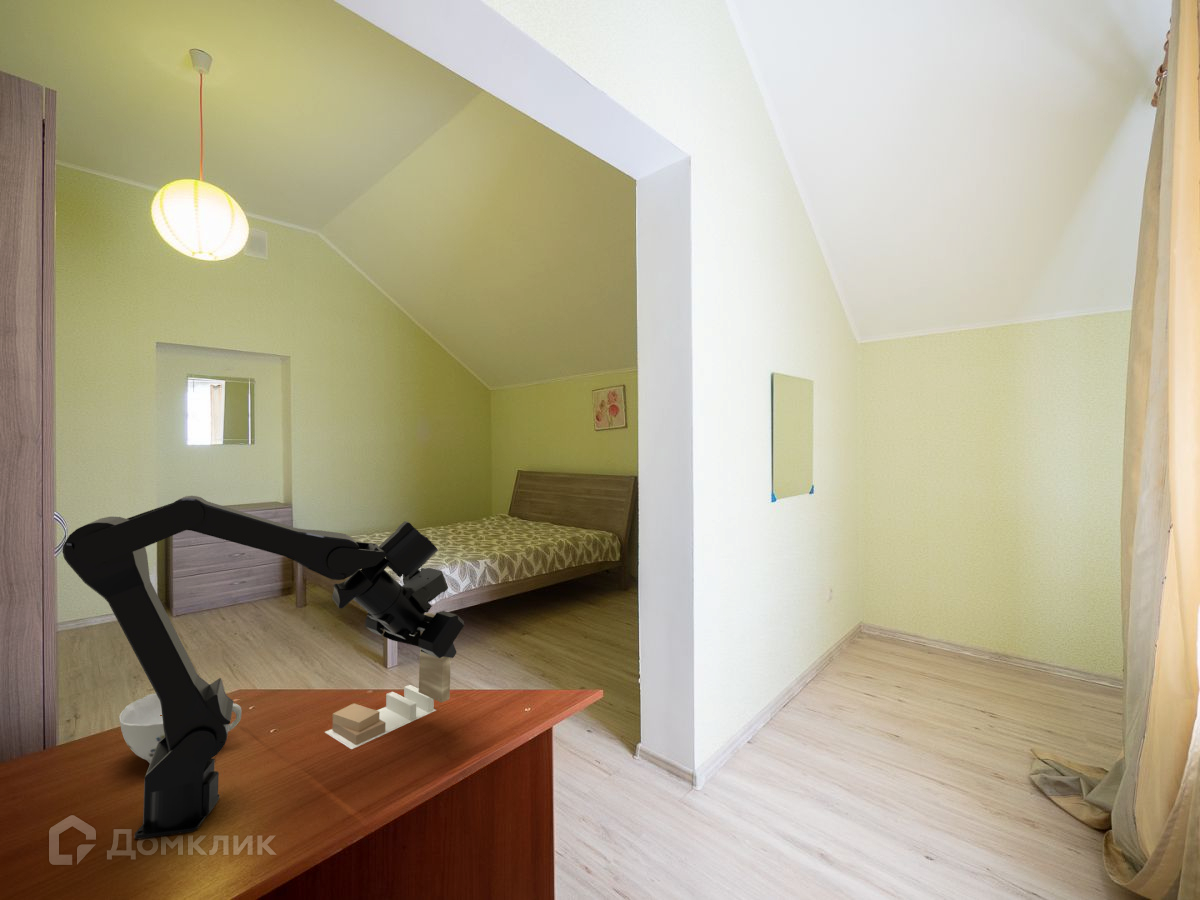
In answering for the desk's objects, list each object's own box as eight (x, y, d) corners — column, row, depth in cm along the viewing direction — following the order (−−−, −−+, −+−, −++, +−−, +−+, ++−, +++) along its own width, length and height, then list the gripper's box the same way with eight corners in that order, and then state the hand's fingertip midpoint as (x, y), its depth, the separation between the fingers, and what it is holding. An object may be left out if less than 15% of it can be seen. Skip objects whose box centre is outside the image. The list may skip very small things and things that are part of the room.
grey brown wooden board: (441, 702, 85) (444, 621, 85) (418, 692, 88) (421, 614, 88) (449, 699, 86) (452, 619, 86) (426, 688, 89) (429, 612, 90)
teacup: (95, 786, 72) (97, 727, 72) (145, 738, 84) (147, 687, 84) (223, 770, 76) (225, 714, 76) (253, 726, 88) (255, 678, 88)
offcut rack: (351, 755, 80) (352, 729, 80) (324, 738, 85) (325, 713, 85) (436, 715, 93) (436, 693, 93) (408, 702, 98) (409, 680, 98)
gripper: (456, 563, 79) (507, 619, 88) (384, 547, 90) (436, 599, 98) (408, 629, 72) (468, 683, 81) (337, 604, 83) (397, 653, 92)
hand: (442, 650), depth 88 cm, fingers closed on grey brown wooden board, 6 cm apart
